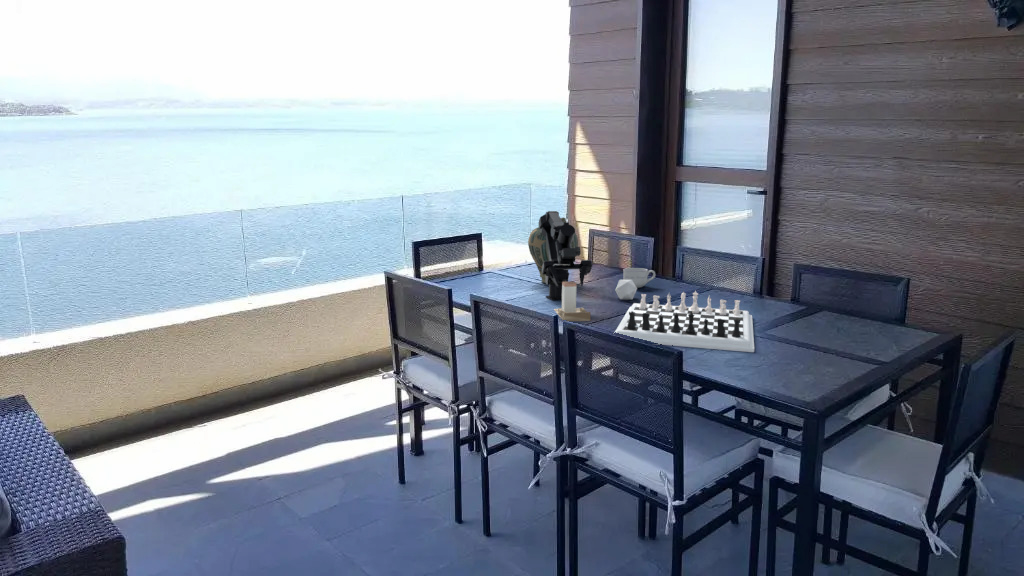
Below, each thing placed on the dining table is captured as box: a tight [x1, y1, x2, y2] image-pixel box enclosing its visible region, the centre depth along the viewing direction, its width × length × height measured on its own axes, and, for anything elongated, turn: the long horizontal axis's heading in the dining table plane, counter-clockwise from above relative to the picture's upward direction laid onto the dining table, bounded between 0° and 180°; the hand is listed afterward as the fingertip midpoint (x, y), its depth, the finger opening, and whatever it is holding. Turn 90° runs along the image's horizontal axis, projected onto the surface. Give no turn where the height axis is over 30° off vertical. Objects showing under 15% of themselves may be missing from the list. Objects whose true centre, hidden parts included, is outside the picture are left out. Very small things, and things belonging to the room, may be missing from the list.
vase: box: [527, 217, 579, 284], centre depth 337 cm, size 22×22×30 cm
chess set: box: [614, 290, 755, 353], centre depth 263 cm, size 45×45×11 cm
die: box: [614, 279, 638, 300], centre depth 308 cm, size 8×9×10 cm
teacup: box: [622, 267, 656, 289], centre depth 331 cm, size 14×11×8 cm
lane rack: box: [553, 307, 592, 322], centre depth 280 cm, size 19×10×4 cm, turn 8°
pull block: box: [561, 281, 577, 313], centre depth 284 cm, size 4×4×11 cm
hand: (570, 285), depth 282 cm, fingers open, 9 cm apart
